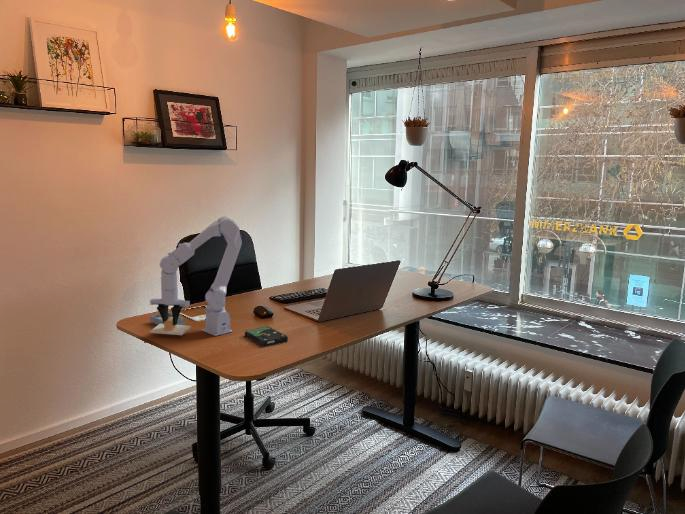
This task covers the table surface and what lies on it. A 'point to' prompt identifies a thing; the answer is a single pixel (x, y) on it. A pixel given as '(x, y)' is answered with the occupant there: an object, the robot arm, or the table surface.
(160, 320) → the tub
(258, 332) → the disk drive
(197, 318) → the photo frame
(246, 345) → the table surface
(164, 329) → the lid
